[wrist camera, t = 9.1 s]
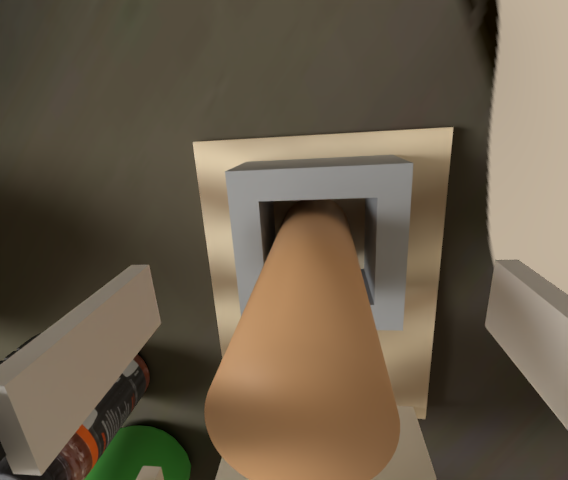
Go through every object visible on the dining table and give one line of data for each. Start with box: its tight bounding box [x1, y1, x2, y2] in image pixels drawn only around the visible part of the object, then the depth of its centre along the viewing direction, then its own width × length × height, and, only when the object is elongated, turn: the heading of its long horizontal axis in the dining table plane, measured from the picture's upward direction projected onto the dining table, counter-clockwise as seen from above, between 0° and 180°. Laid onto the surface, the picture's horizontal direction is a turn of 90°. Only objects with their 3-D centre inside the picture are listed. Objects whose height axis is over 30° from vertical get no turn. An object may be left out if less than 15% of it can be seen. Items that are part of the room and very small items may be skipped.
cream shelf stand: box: [136, 406, 437, 480], centre depth 20 cm, size 10×15×14 cm, turn 93°
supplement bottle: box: [0, 354, 149, 480], centre depth 25 cm, size 6×6×11 cm
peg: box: [204, 199, 400, 480], centre depth 15 cm, size 4×4×16 cm
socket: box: [225, 155, 413, 331], centre depth 20 cm, size 9×9×5 cm
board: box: [193, 127, 453, 419], centre depth 25 cm, size 22×16×1 cm
